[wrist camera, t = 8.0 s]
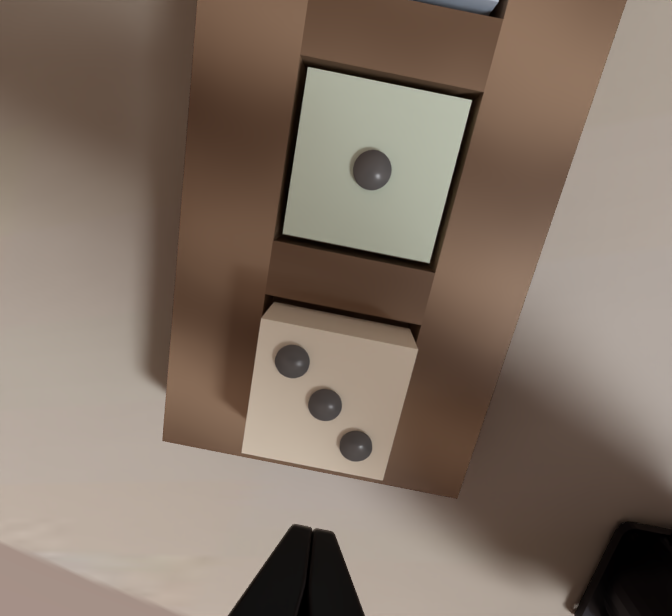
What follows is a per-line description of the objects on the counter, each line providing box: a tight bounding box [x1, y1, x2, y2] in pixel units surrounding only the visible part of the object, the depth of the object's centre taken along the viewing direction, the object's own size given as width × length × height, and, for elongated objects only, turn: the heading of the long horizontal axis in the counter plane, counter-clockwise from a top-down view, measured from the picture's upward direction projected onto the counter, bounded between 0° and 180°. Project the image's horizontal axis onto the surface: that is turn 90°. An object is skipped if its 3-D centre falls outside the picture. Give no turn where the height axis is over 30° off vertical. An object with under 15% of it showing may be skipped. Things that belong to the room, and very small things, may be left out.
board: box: [162, 0, 627, 499], centre depth 14 cm, size 23×12×2 cm, turn 169°
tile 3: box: [242, 302, 418, 481], centre depth 14 cm, size 5×5×2 cm
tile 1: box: [283, 67, 472, 263], centre depth 13 cm, size 5×5×2 cm
